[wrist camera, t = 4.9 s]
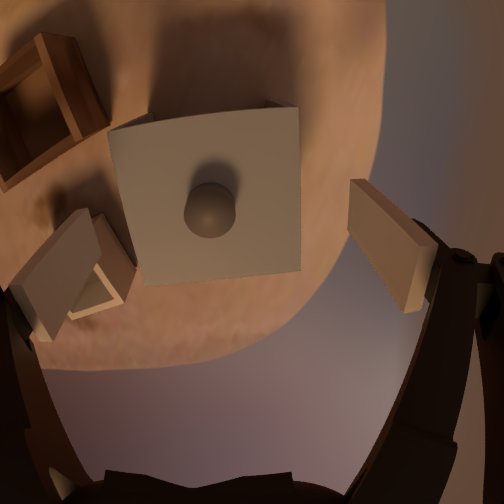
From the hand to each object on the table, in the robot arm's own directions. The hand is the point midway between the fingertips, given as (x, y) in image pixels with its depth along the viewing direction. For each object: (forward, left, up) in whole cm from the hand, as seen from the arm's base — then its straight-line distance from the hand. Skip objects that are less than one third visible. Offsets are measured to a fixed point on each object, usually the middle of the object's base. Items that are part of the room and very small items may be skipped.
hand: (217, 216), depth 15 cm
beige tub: (+3, -13, -9) cm, 16 cm away
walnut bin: (-10, -10, -9) cm, 17 cm away
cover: (0, 0, -9) cm, 9 cm away
